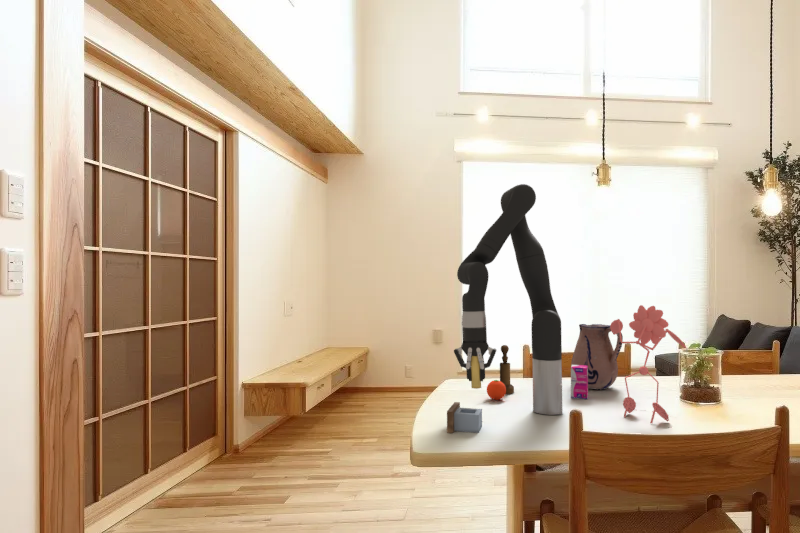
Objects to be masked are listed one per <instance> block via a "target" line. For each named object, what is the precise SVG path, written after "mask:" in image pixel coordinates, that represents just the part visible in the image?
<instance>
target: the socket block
mask: <svg viewBox="0 0 800 533" xmlns="http://www.w3.org/2000/svg"><path fill="white" fill-rule="evenodd" d="M482 427H483V409H482V408H473V407H472V408H471V407H460V408H458V409H457V410H456V411H455V413H454V432H466V433H478V434H479V433H480V431H481V430H482Z"/></svg>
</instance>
